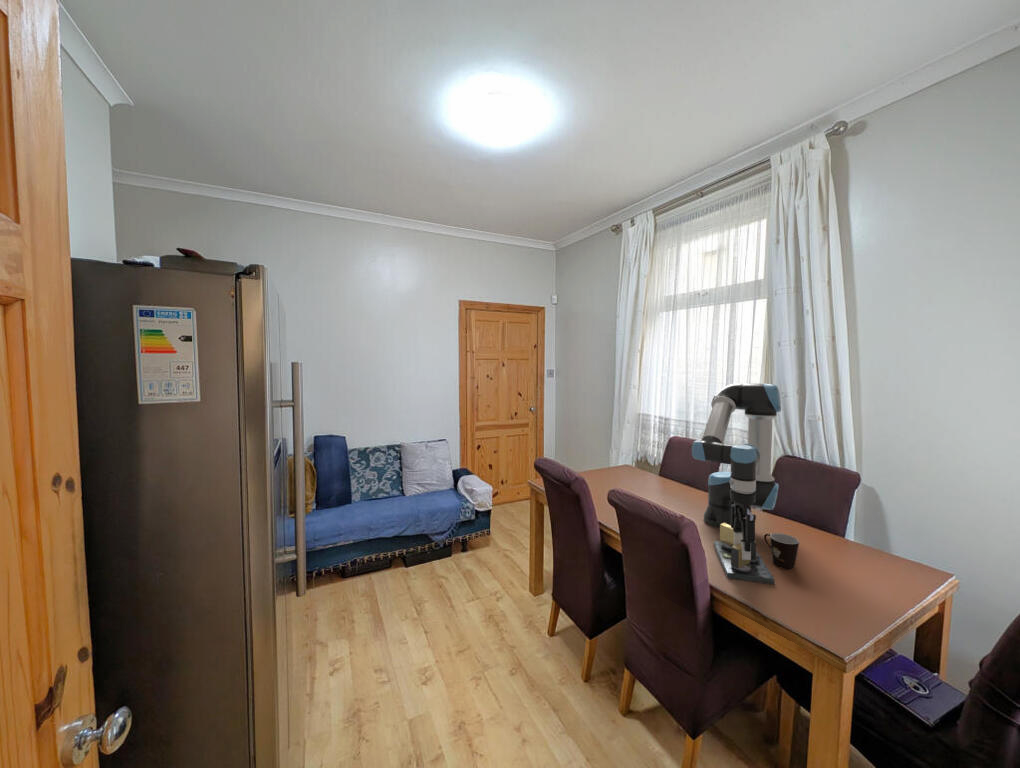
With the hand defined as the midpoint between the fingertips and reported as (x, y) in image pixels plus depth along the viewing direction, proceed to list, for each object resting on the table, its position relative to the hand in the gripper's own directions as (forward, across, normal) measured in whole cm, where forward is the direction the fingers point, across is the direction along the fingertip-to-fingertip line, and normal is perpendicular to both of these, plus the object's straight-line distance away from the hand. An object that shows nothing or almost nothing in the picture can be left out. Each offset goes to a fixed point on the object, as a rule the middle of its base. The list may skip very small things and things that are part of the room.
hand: (742, 554), depth 134 cm
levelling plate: (+7, -7, +3) cm, 10 cm away
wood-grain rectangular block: (+5, -6, +5) cm, 10 cm away
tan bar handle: (+5, 0, -1) cm, 5 cm away
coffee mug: (+8, -9, +18) cm, 21 cm away
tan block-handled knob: (+5, -15, +2) cm, 16 cm away
